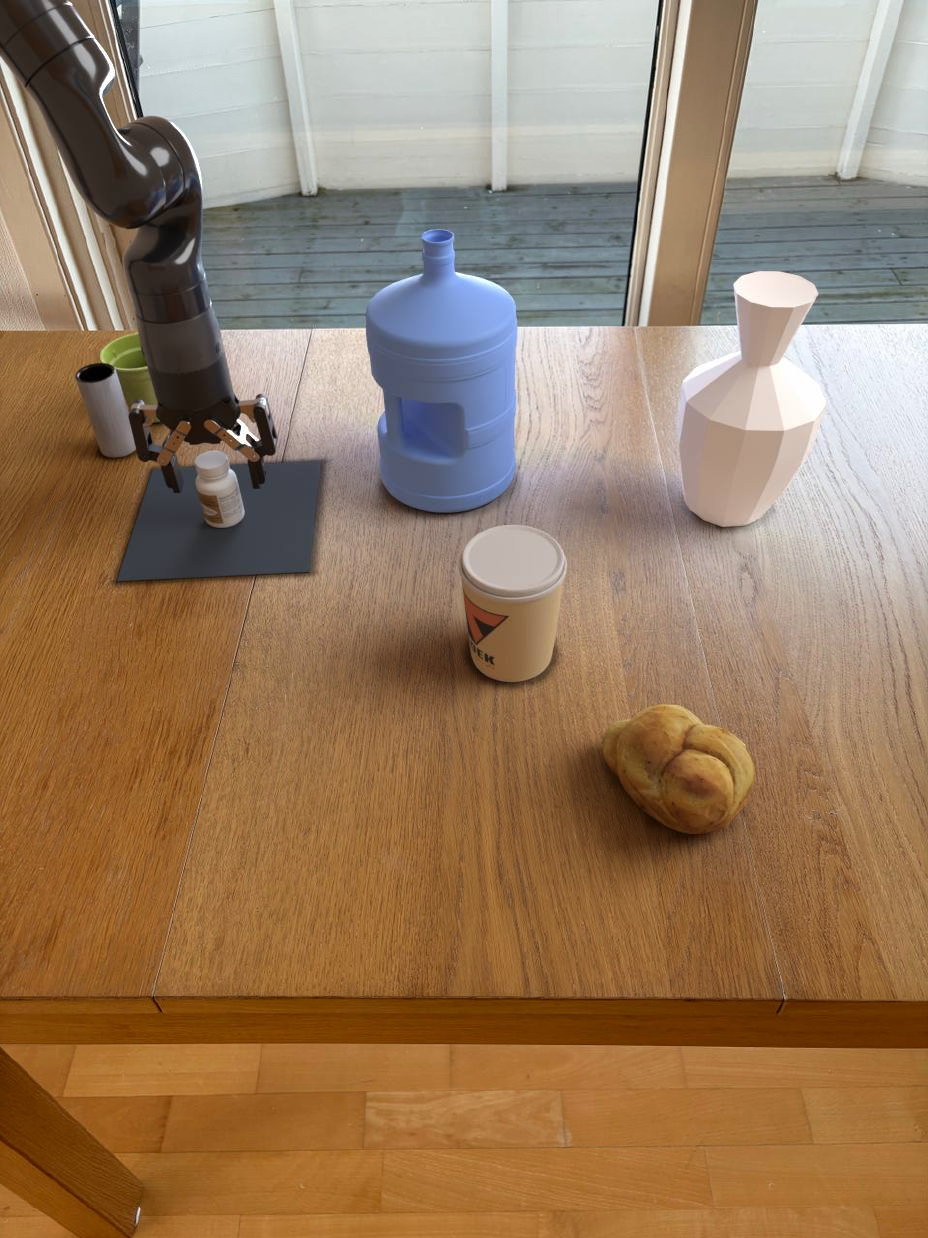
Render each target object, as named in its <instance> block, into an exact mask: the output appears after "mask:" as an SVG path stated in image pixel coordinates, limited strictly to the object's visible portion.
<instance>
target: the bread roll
mask: <svg viewBox="0 0 928 1238" xmlns="http://www.w3.org/2000/svg"><path fill="white" fill-rule="evenodd" d="M601 746H602V747H601V751H602V752H601V753H602V755H603V759H604V761H605V763H606V765H607V766H608V768H609V769H610V770H611V771H612V773H614V774H615V775H616V776H617V777H618V779H619V782H620V784H621V786H622V788H623V790H624V791H625V793H626V794H627V795H628V797H629V798H630V799H631V800H633V802H635V804H636V805H637V806H638V807H639V808H640V810H642V811H644V813H646V814H647V815H648V816H649V817H651V818H653V819H654V820H656V821H657V822H658V823H660V824H662V825H663V826H665V827H667V828H668V829H671V830H673V831H677V832H679V833H682V834H685V835H690V834H691V835H700V834H701V835H702V834H707V833H711V832H715V831H717V830H720V829H723V828H727V827H728V826H729V825H730V824H731V823H732V821H733V820H734V818H735V817H736V816H737V815H738V814H739V813H740V812H741V811H742V810H743V809H745V808H746V804H747V802H748V800H749V797H750V795H751V794H752V791H753V787H754V784H755V781H756V777H755V776H756V775H755V773H756V771H755V768H754V767H755V766H754V763H753V760H752V756H751V754H750V753H749V751H748V750H747V749H746V746H747V744H745V743H744V742H743V740H741V739H739V737H737V736H736V735H735V734H733V733H731V732H730V731H729V730H728V729H726V728H722V727H719V726H715V725H713V724H705V723H703V721H702V720H701V719H699V718H698V717H697V716H696V715H695V714H694V713H693V712H691V710H688V709H687V708H685V707H683V706H682V705H679V704H663V703H660V704H656V705H653V706H649V707H646V708H643V709H642V710H640V711H638V712H637V713H636V714H634V715H633V716H632V717H631V718H629V719H620V720H617V721H614V722H613V723H611V724H610V725H609V726H608V727H607V728H606V730H605V732H604V734H603V737H602V741H601Z"/></svg>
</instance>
